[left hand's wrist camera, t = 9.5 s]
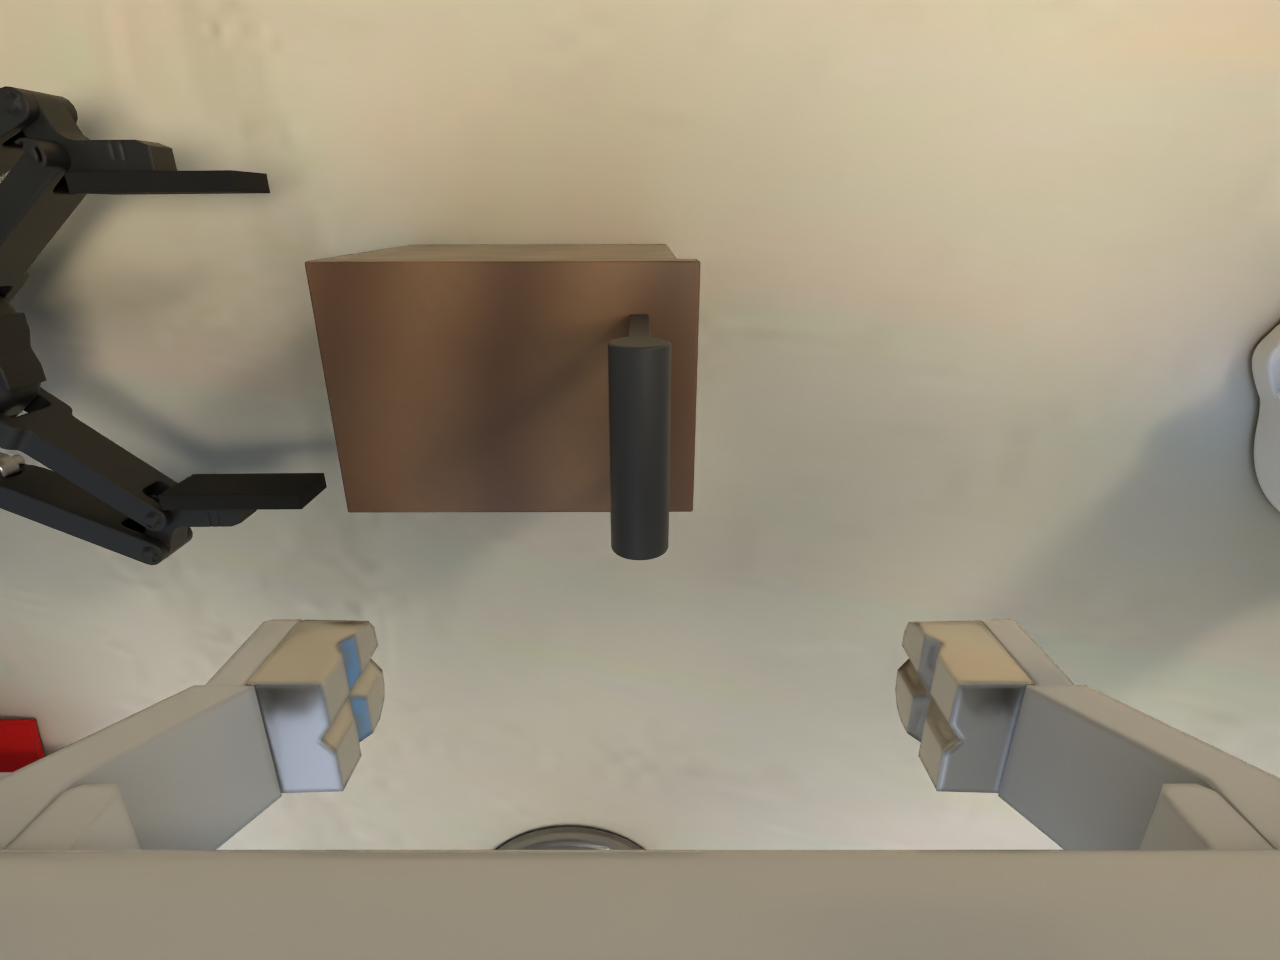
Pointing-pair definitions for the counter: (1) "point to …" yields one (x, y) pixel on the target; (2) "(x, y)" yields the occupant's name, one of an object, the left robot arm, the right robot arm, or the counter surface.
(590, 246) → the chest
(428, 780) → the counter surface
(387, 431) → the lid
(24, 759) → the toy
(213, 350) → the counter surface
